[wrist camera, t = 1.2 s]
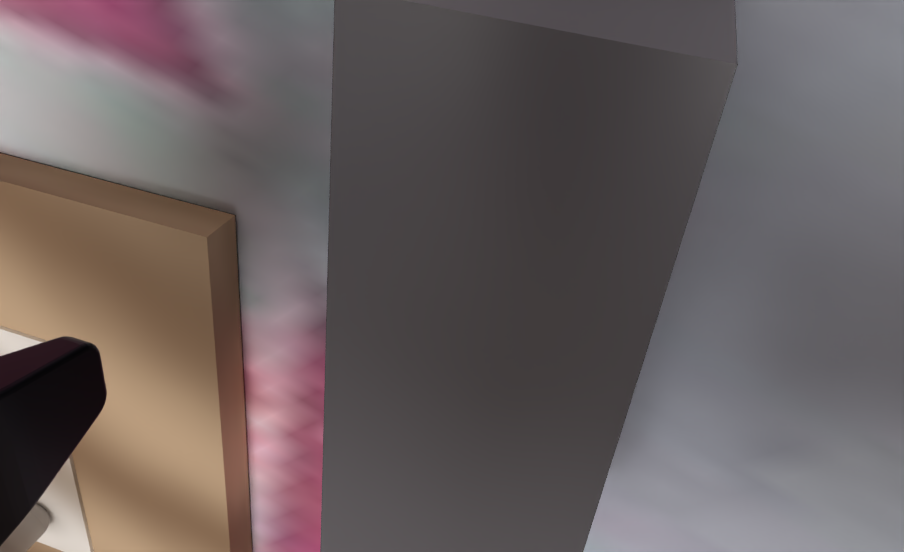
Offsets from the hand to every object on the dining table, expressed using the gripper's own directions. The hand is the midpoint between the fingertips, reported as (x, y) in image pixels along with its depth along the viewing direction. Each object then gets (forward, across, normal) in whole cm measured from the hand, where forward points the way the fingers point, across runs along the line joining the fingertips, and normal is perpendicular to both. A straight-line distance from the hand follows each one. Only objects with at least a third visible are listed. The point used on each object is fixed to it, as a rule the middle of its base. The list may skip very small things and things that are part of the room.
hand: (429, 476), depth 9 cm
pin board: (+6, +12, +9) cm, 16 cm away
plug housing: (+6, 0, 0) cm, 6 cm away
